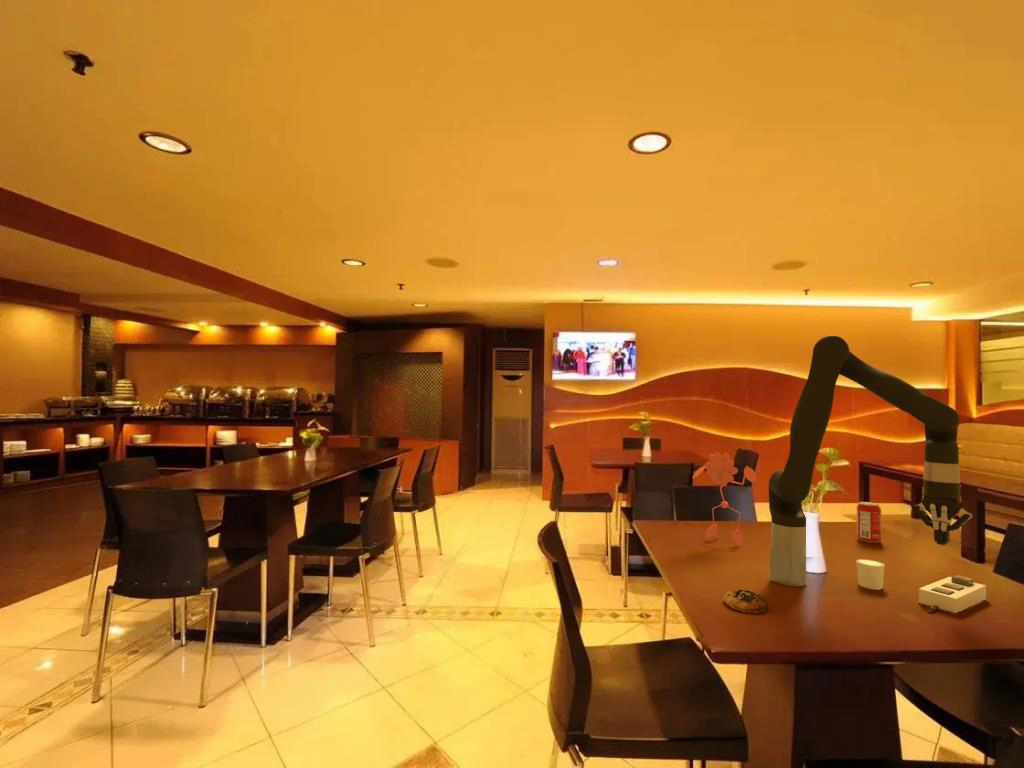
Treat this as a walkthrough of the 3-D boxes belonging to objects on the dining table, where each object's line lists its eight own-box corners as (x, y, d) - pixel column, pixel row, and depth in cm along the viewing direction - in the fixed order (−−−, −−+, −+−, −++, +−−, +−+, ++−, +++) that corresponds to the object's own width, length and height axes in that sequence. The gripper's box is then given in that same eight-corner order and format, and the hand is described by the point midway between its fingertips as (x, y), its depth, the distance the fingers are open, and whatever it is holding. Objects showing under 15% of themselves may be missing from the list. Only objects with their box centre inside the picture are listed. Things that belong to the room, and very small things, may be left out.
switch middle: (958, 598, 135) (958, 589, 135) (941, 593, 138) (941, 584, 139) (963, 595, 137) (963, 586, 137) (947, 591, 140) (947, 582, 140)
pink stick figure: (699, 533, 206) (698, 448, 206) (763, 548, 186) (762, 453, 187) (678, 540, 196) (677, 450, 197) (744, 557, 176) (743, 457, 177)
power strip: (948, 618, 127) (948, 602, 127) (911, 606, 134) (911, 591, 134) (986, 600, 139) (985, 585, 140) (949, 590, 146) (949, 576, 146)
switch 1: (948, 602, 132) (948, 593, 132) (931, 598, 135) (931, 589, 135) (954, 600, 134) (953, 591, 134) (937, 595, 137) (937, 586, 137)
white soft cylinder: (878, 583, 151) (878, 560, 151) (889, 591, 145) (889, 567, 145) (852, 581, 153) (852, 557, 153) (861, 589, 146) (861, 564, 147)
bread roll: (778, 609, 131) (775, 590, 131) (751, 623, 125) (748, 603, 125) (740, 596, 141) (738, 578, 141) (714, 609, 135) (711, 590, 135)
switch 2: (968, 589, 139) (967, 581, 139) (951, 585, 142) (951, 577, 142) (973, 587, 140) (973, 578, 141) (956, 583, 144) (956, 574, 144)
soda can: (859, 542, 196) (859, 504, 197) (854, 538, 203) (854, 500, 204) (884, 545, 193) (883, 506, 194) (878, 540, 200) (877, 502, 201)
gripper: (905, 476, 139) (906, 539, 139) (967, 484, 128) (967, 552, 127) (918, 475, 143) (918, 536, 143) (979, 482, 132) (979, 549, 131)
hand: (941, 544), depth 135 cm, fingers closed
